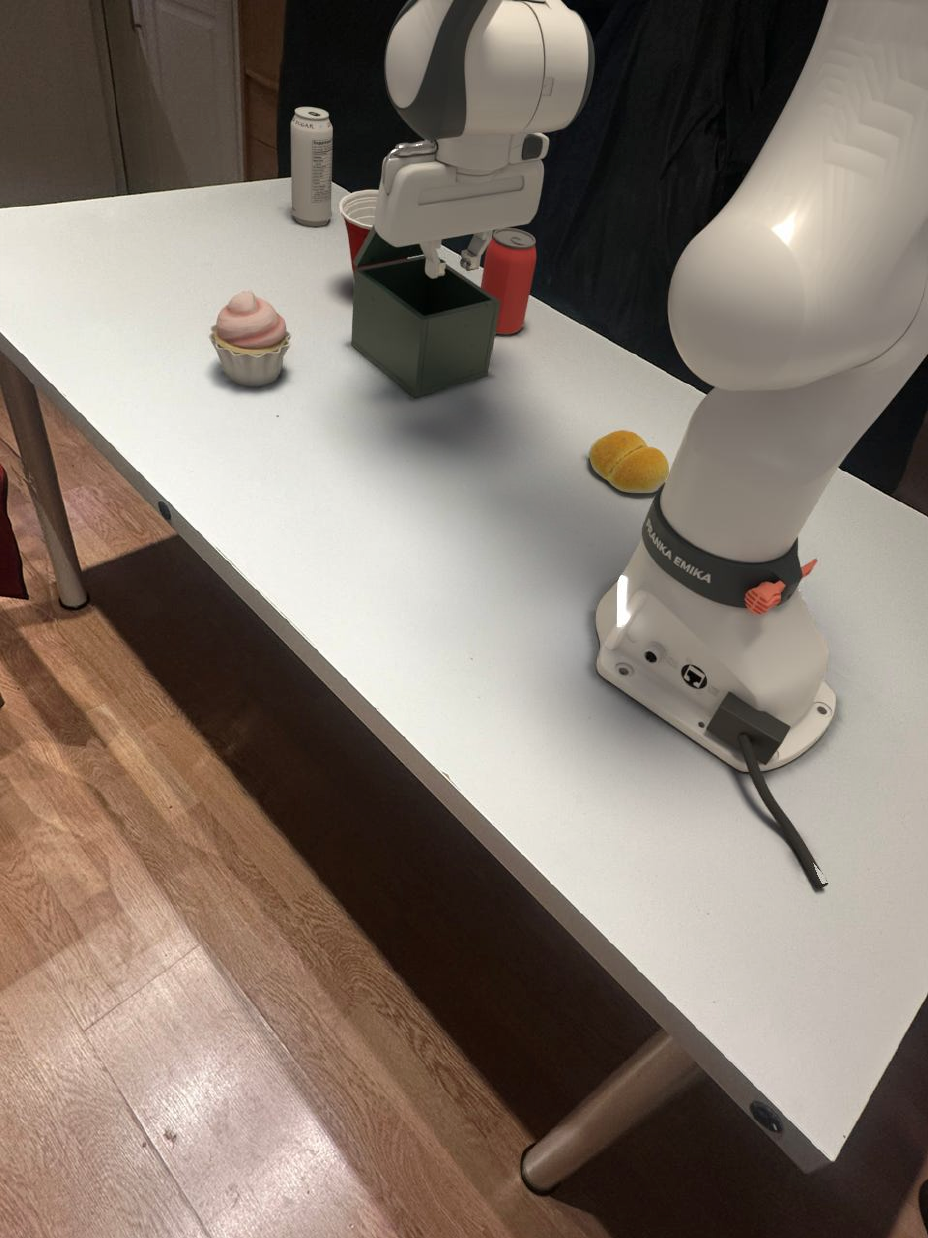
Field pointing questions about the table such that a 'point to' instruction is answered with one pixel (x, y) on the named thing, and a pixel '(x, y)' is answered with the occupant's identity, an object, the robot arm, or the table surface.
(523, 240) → the beer can
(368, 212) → the plastic cup
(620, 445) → the bread roll
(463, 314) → the bin
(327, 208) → the energy drink can
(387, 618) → the table surface
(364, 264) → the bin lid
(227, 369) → the cupcake
